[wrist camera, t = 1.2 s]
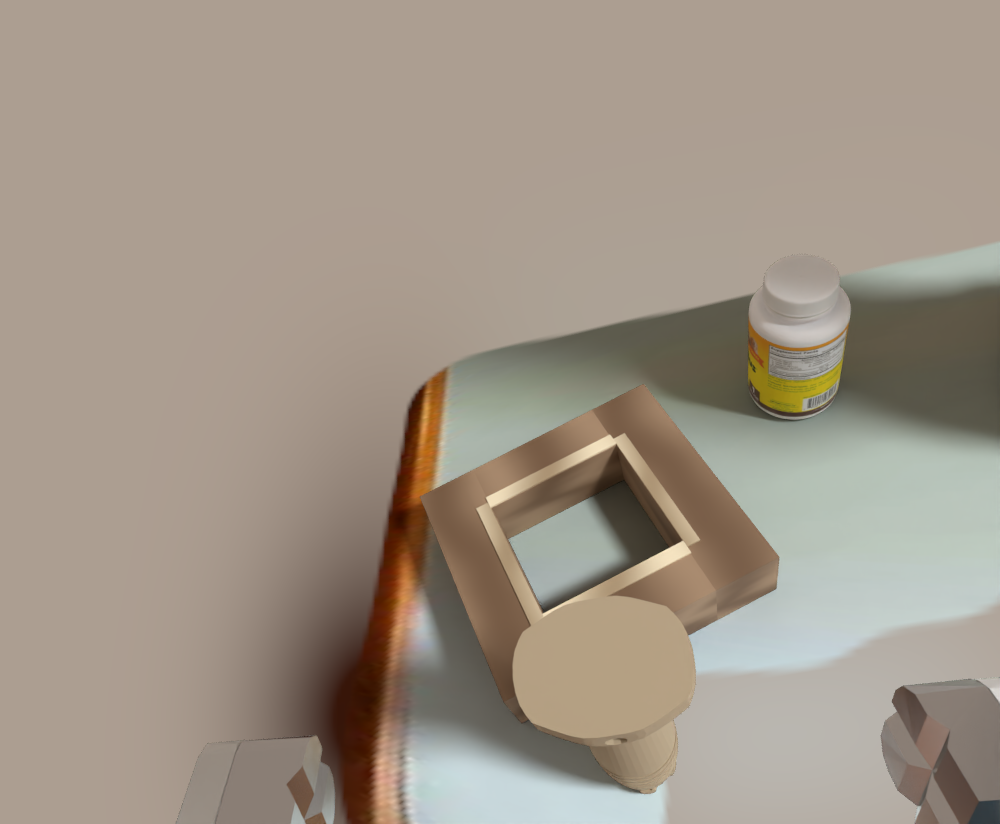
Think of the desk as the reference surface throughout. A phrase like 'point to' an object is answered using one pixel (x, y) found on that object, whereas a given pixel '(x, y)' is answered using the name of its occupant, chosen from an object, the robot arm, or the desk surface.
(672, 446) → the square wooden frame
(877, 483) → the desk surface
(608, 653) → the handle
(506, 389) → the desk surface
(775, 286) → the supplement bottle
